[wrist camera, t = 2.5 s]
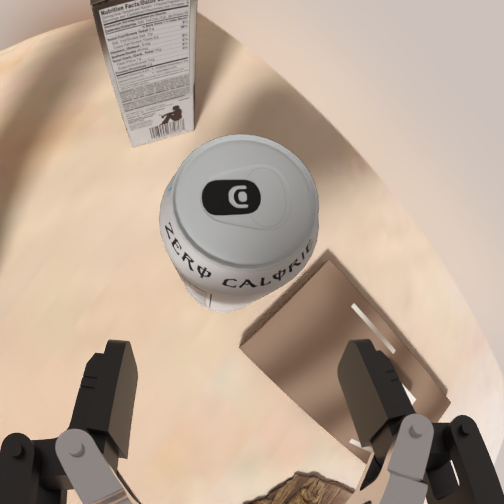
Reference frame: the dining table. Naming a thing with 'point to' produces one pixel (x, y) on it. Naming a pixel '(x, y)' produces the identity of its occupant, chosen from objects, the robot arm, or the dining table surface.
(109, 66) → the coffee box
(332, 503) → the wooden fragment
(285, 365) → the walnut board
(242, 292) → the energy drink can
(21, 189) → the dining table surface
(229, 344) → the dining table surface
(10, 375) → the dining table surface
